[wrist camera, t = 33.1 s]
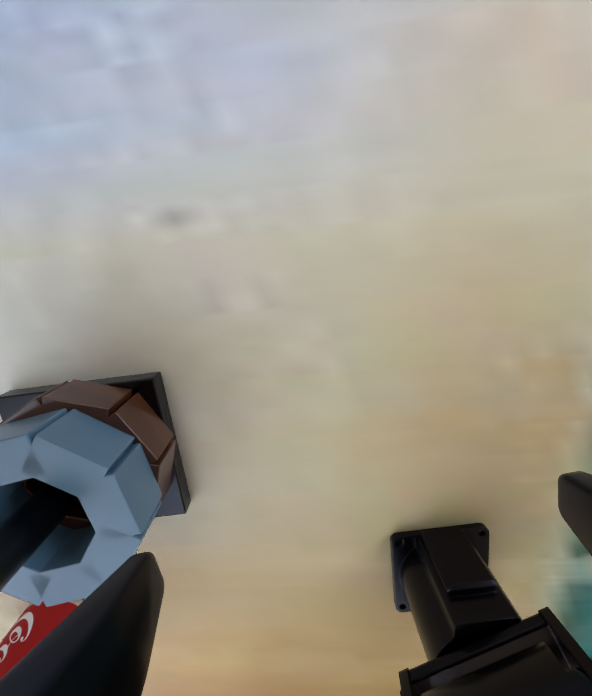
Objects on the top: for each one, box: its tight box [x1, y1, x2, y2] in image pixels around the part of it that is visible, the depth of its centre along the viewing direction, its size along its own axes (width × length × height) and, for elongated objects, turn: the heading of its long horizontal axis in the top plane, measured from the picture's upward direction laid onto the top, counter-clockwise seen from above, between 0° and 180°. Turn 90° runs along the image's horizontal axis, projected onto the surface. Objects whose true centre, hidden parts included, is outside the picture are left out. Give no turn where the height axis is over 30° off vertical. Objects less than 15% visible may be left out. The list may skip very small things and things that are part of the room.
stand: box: [0, 372, 191, 591], centre depth 17 cm, size 9×9×9 cm
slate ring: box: [0, 408, 162, 607], centre depth 16 cm, size 9×9×3 cm
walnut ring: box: [0, 380, 176, 530], centre depth 19 cm, size 9×9×3 cm
